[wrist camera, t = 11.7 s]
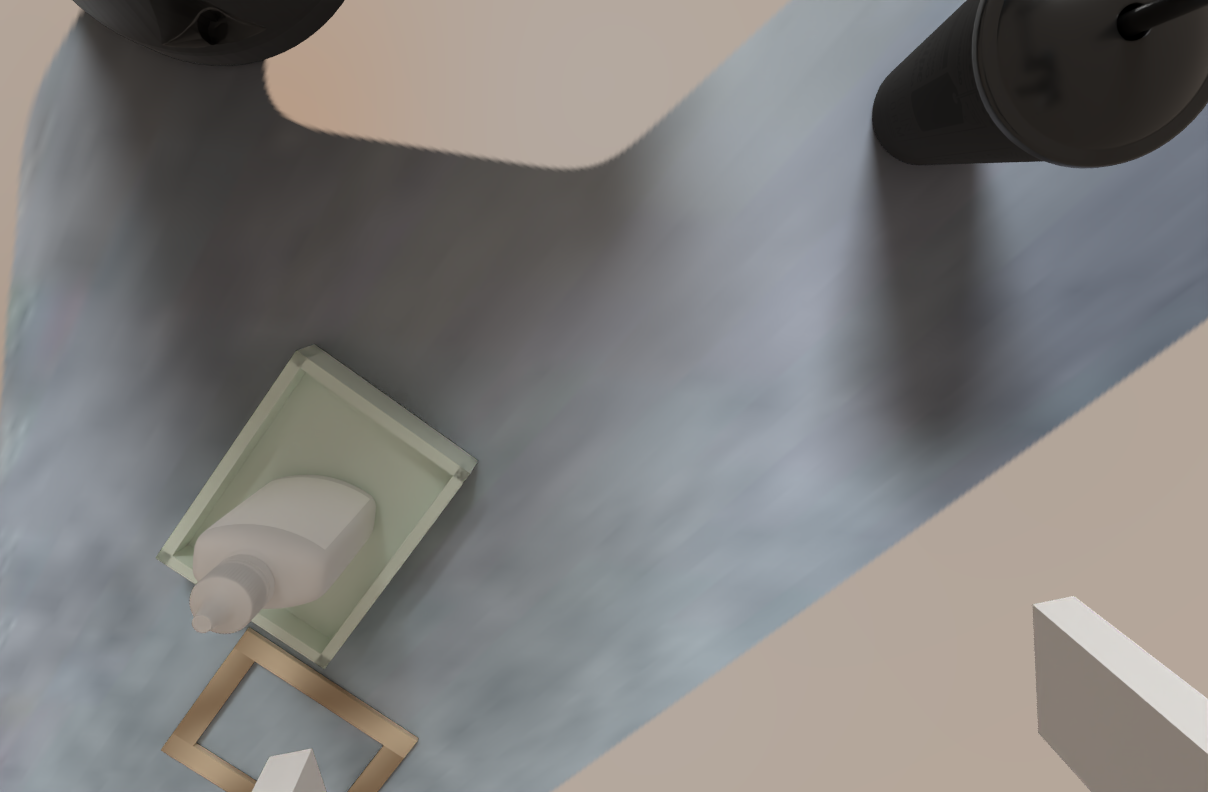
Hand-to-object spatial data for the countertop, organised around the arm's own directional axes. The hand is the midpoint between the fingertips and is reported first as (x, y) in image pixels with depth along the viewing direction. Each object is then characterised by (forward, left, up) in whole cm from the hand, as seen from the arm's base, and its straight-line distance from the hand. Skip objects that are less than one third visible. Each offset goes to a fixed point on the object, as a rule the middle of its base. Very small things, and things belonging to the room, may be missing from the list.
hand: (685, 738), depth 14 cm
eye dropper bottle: (-10, -13, -25) cm, 30 cm away
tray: (-10, -13, -26) cm, 31 cm away
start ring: (-4, -26, -26) cm, 37 cm away
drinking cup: (+2, +20, -26) cm, 33 cm away
